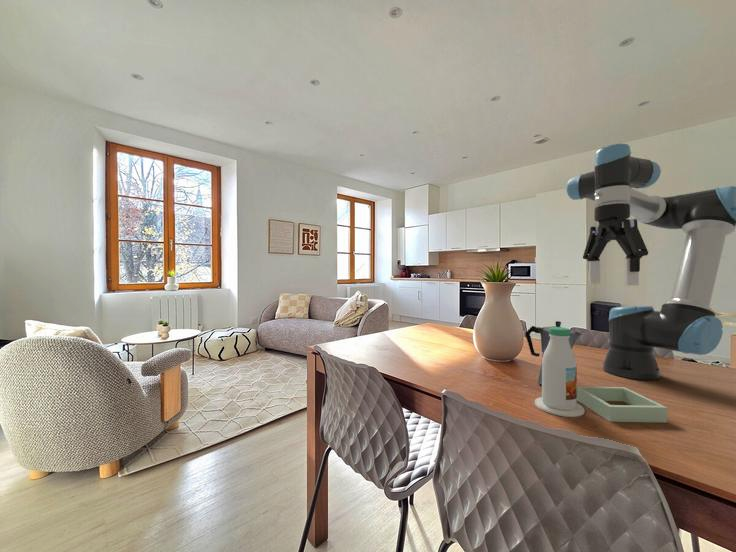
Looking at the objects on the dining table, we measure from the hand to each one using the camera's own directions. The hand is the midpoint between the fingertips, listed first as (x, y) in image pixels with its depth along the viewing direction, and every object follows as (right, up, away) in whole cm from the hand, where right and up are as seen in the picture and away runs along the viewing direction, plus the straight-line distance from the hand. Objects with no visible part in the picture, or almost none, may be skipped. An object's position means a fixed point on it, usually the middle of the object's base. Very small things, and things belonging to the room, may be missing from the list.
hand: (611, 284), depth 84 cm
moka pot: (-8, -32, +13) cm, 35 cm away
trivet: (-16, -32, -3) cm, 36 cm away
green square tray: (-2, -32, -5) cm, 32 cm away
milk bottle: (-16, -31, -3) cm, 35 cm away
